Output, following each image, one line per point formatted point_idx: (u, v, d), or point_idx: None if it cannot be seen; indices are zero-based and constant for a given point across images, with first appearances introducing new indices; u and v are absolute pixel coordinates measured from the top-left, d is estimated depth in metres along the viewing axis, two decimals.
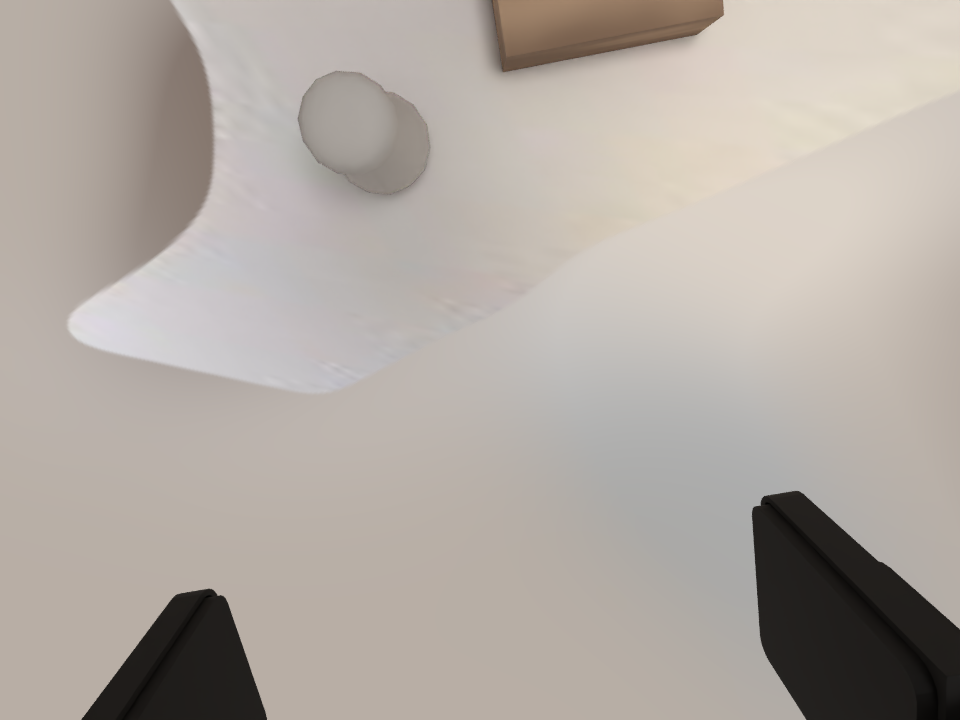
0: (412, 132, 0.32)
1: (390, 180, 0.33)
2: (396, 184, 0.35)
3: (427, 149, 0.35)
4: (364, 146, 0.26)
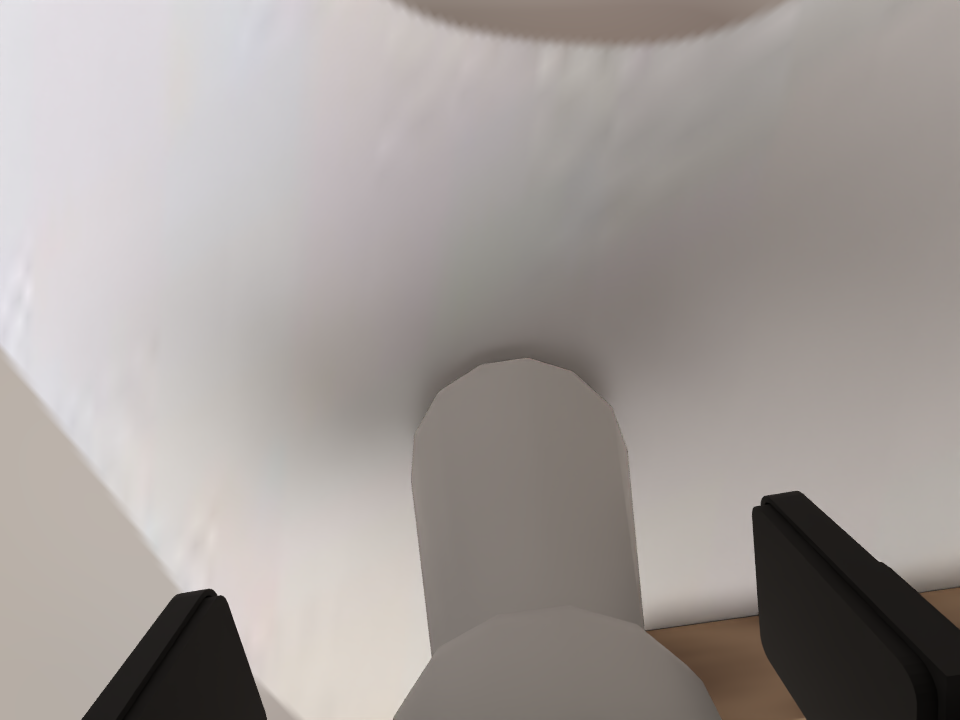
0: None
1: None
2: None
3: None
4: None
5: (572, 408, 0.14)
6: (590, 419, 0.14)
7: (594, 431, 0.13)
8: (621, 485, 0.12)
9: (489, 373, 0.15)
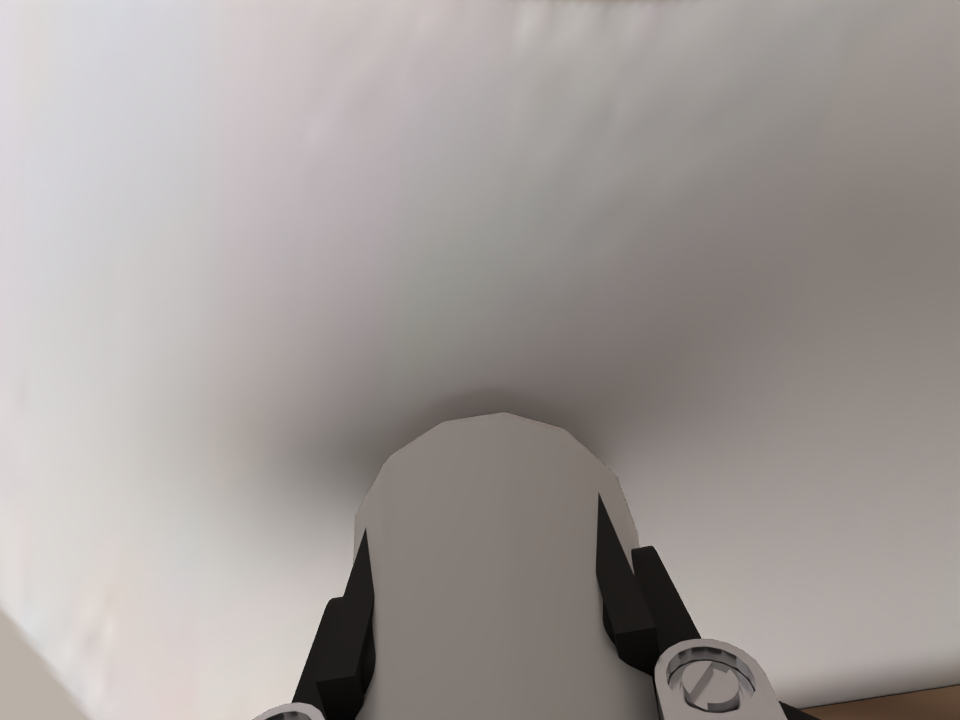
0: None
1: None
2: None
3: None
4: None
5: (565, 493, 0.10)
6: (591, 507, 0.10)
7: None
8: None
9: (453, 436, 0.11)
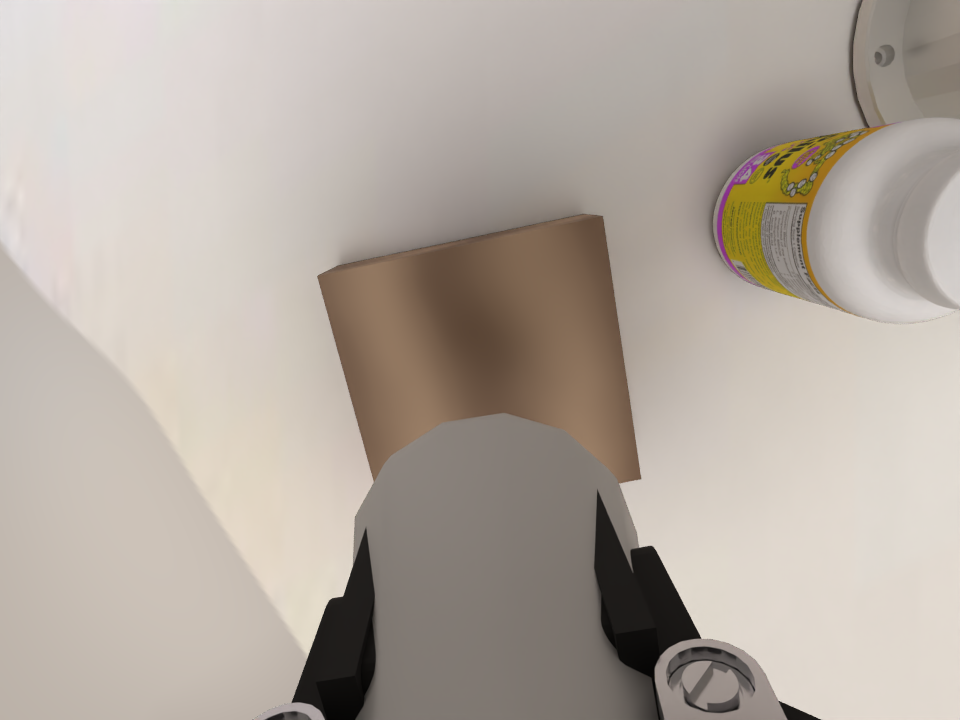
0: None
1: None
2: None
3: None
4: None
5: (565, 495, 0.10)
6: (590, 508, 0.10)
7: None
8: None
9: (452, 439, 0.11)
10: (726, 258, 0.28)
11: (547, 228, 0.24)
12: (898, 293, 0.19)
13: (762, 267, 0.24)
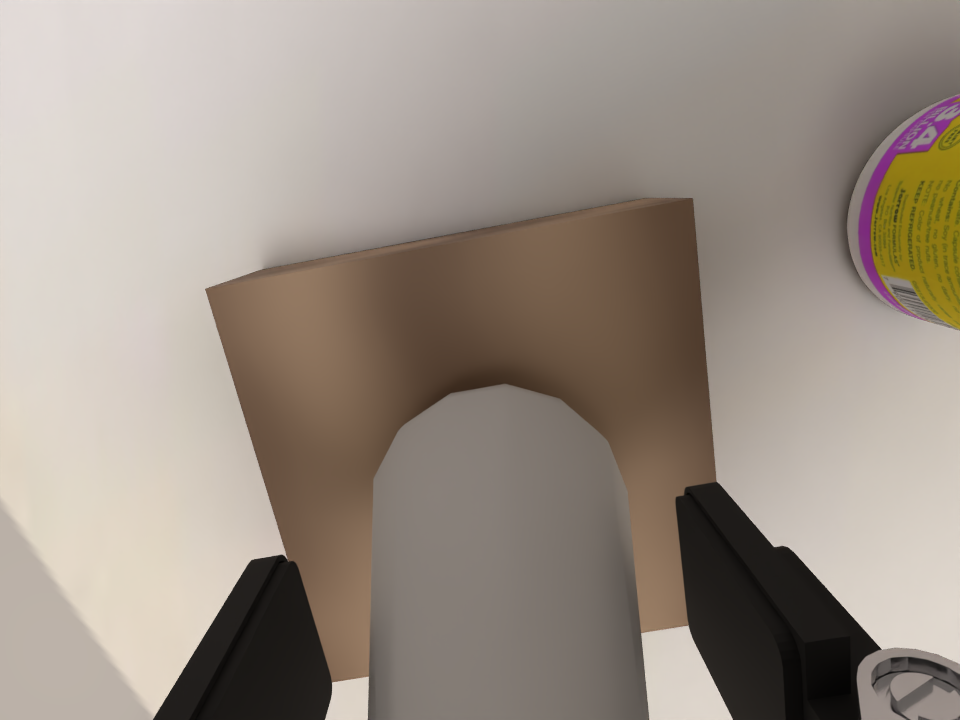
0: None
1: None
2: None
3: None
4: None
5: (557, 449, 0.11)
6: (580, 461, 0.11)
7: (584, 477, 0.11)
8: (619, 551, 0.09)
9: (458, 404, 0.12)
10: (871, 273, 0.17)
11: (597, 217, 0.14)
12: None
13: None
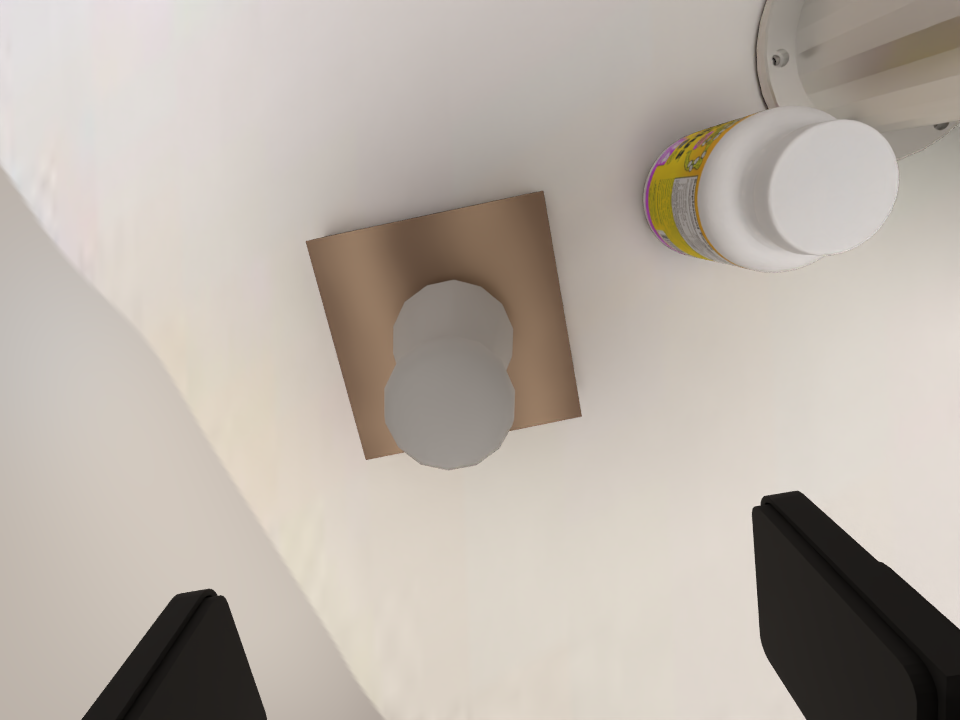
0: None
1: None
2: None
3: None
4: (418, 442, 0.18)
5: (474, 297, 0.26)
6: (484, 303, 0.26)
7: (485, 308, 0.26)
8: (495, 327, 0.24)
9: (432, 286, 0.27)
10: (653, 229, 0.32)
11: (497, 201, 0.29)
12: (764, 244, 0.24)
13: (675, 232, 0.29)
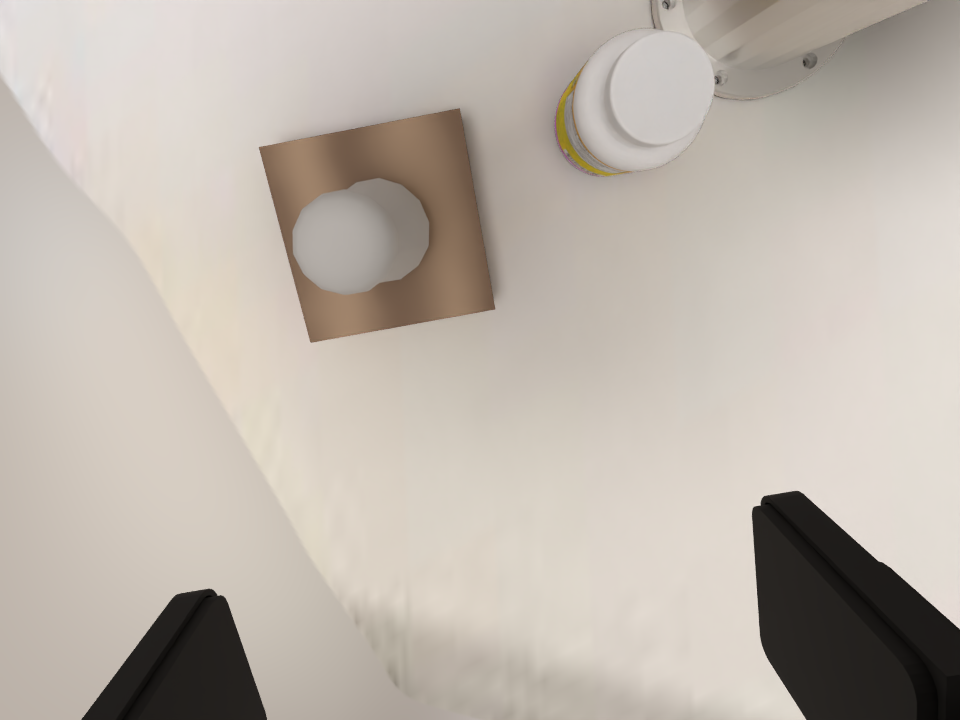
0: None
1: None
2: None
3: None
4: (316, 267, 0.24)
5: (391, 188, 0.31)
6: (399, 193, 0.32)
7: (399, 196, 0.31)
8: (403, 207, 0.30)
9: (359, 182, 0.33)
10: (562, 150, 0.38)
11: (420, 116, 0.35)
12: (622, 143, 0.29)
13: (570, 146, 0.34)
